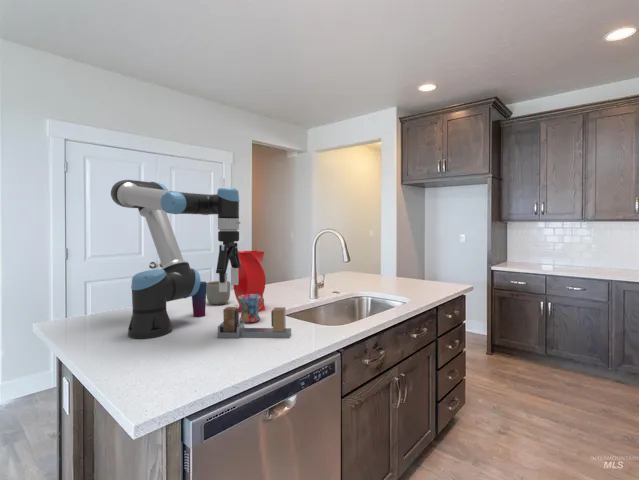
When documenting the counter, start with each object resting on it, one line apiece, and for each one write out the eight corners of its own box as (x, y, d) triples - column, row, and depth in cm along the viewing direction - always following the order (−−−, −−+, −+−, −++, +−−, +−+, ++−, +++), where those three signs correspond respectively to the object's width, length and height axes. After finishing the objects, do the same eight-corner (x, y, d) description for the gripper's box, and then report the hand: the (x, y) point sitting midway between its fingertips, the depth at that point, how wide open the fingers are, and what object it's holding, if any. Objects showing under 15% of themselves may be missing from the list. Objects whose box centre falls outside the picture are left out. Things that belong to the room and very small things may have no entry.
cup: (188, 316, 157) (187, 283, 157) (198, 313, 164) (197, 281, 163) (200, 318, 155) (199, 284, 154) (210, 314, 161) (209, 281, 160)
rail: (217, 338, 128) (216, 310, 127) (223, 331, 135) (223, 306, 134) (288, 338, 126) (288, 311, 126) (291, 332, 133) (291, 306, 133)
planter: (204, 302, 186) (204, 282, 186) (228, 300, 191) (228, 280, 191) (207, 307, 175) (207, 285, 174) (232, 304, 180) (232, 283, 180)
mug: (246, 325, 143) (246, 299, 143) (234, 321, 150) (233, 296, 149) (270, 319, 152) (270, 295, 151) (257, 315, 158) (257, 292, 158)
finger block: (223, 331, 129) (223, 309, 129) (227, 328, 133) (226, 307, 133) (236, 331, 129) (235, 309, 128) (239, 328, 133) (238, 307, 132)
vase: (242, 315, 160) (241, 253, 158) (228, 309, 171) (227, 251, 170) (271, 309, 169) (270, 251, 168) (256, 304, 180) (255, 249, 179)
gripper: (228, 231, 117) (228, 295, 118) (247, 229, 142) (247, 282, 143) (205, 231, 117) (206, 294, 118) (229, 229, 142) (229, 282, 143)
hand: (229, 288), depth 130 cm, fingers open, 13 cm apart
